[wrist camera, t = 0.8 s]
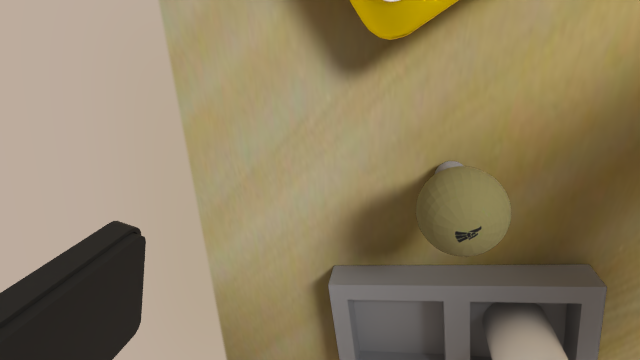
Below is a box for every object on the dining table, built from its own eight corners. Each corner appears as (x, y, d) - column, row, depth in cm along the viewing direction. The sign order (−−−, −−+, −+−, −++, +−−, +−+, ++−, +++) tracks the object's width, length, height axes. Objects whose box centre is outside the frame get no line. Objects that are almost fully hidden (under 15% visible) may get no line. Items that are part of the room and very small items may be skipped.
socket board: (588, 264, 31) (607, 287, 28) (577, 369, 34) (592, 399, 32) (334, 265, 36) (328, 284, 33) (347, 357, 39) (342, 381, 37)
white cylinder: (549, 297, 32) (591, 376, 25) (545, 346, 34) (584, 433, 26) (482, 296, 33) (504, 371, 26) (482, 344, 35) (502, 426, 28)
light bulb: (449, 217, 32) (467, 292, 23) (399, 175, 31) (396, 233, 22) (503, 171, 30) (546, 232, 20) (449, 124, 29) (469, 166, 20)
